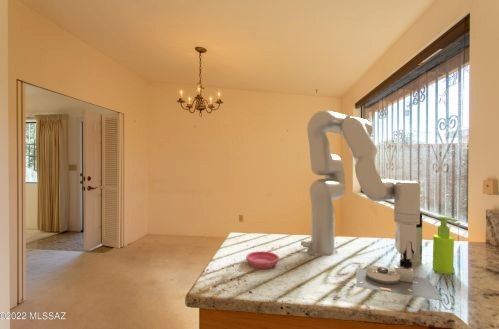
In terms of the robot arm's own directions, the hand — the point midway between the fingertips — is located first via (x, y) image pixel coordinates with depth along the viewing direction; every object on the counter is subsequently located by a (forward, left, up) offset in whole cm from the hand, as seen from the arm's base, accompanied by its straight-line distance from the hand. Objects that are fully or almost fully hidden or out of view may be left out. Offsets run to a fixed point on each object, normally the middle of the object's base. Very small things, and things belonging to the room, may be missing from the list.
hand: (405, 272), depth 91 cm
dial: (-6, -6, -1) cm, 8 cm away
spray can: (+4, +15, -2) cm, 16 cm away
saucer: (-49, -6, -3) cm, 49 cm away
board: (-5, -8, -2) cm, 9 cm away
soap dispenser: (+13, +9, -2) cm, 17 cm away
